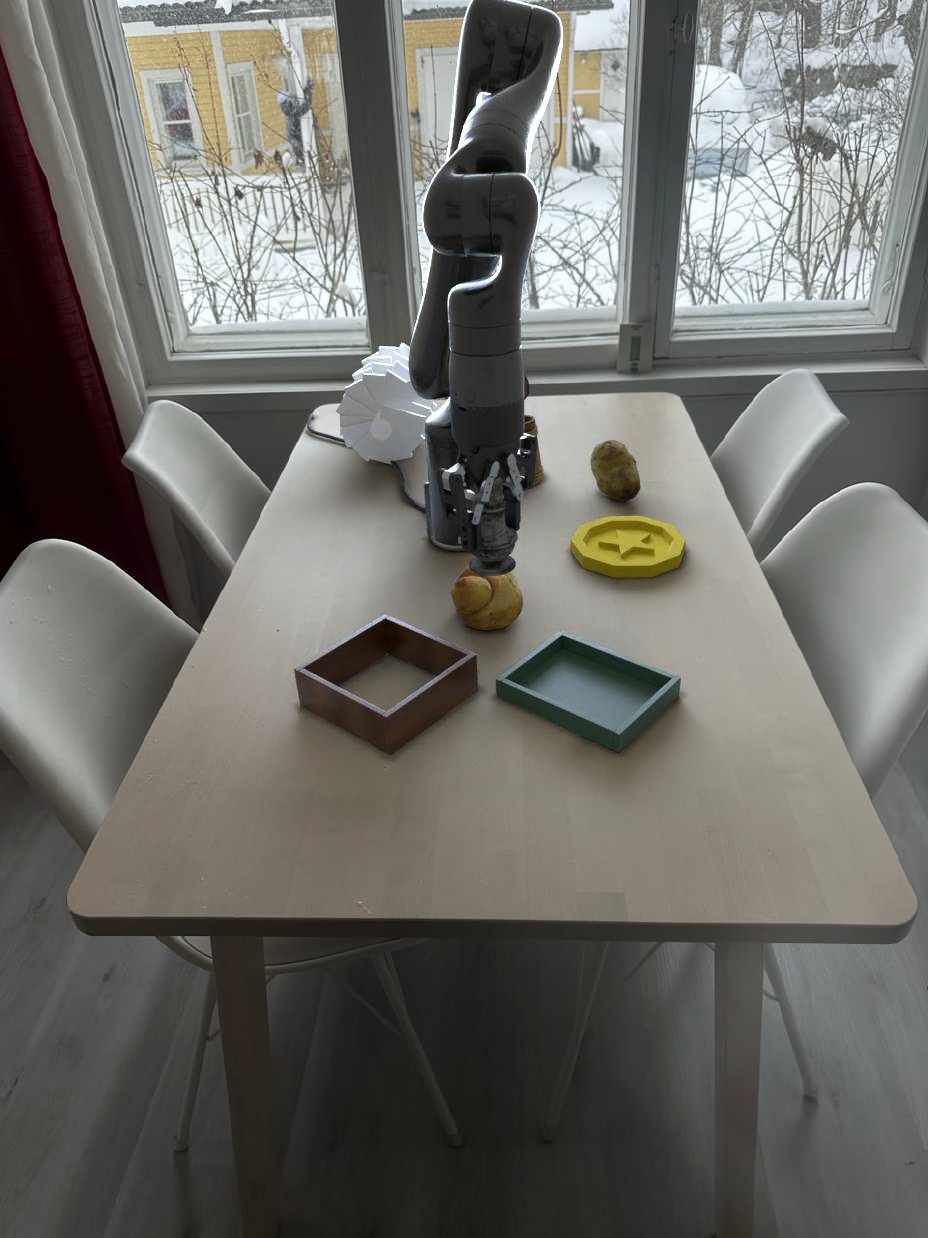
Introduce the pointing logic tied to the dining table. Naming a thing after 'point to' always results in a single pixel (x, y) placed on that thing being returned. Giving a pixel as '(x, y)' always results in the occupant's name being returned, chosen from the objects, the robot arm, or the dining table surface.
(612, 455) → the potato
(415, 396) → the spiral staircase
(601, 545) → the decorative disc
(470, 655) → the open box
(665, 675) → the tray
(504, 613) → the bread roll
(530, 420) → the wooden mug
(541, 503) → the dining table surface
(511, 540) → the salt shaker
